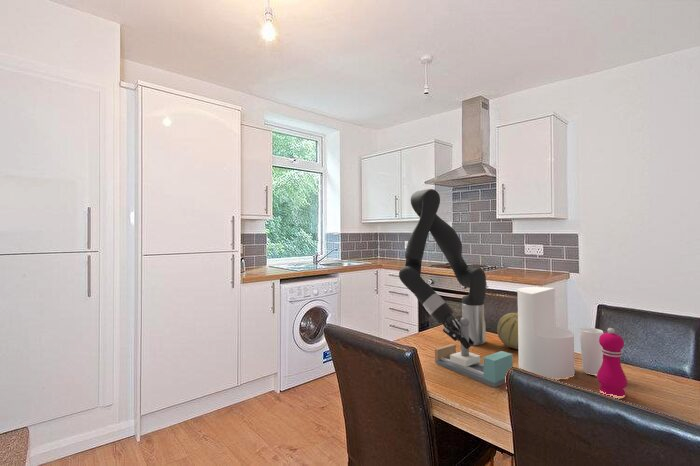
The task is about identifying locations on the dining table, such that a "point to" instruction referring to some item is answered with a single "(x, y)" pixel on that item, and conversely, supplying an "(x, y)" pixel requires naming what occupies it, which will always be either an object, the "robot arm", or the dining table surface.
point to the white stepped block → (543, 335)
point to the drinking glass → (591, 349)
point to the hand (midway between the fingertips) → (470, 346)
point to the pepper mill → (611, 364)
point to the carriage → (465, 356)
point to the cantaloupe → (508, 330)
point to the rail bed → (478, 365)
